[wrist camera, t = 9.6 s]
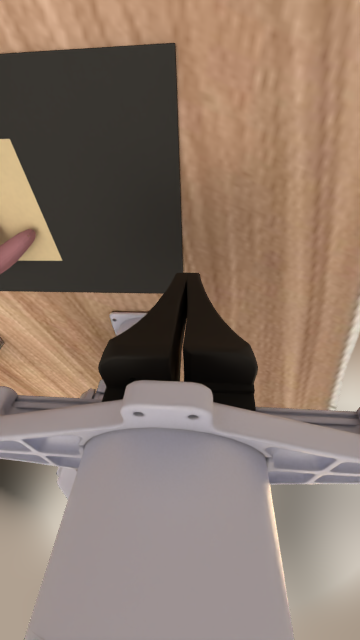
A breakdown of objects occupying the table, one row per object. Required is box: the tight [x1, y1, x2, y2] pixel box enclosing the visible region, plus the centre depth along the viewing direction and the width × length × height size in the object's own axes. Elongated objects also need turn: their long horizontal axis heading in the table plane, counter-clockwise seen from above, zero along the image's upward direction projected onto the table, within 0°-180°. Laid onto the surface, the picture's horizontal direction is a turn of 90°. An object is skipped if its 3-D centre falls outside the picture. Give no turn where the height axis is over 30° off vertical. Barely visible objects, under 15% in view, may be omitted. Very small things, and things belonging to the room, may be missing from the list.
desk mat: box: [0, 43, 183, 293], centre depth 21 cm, size 18×26×1 cm
